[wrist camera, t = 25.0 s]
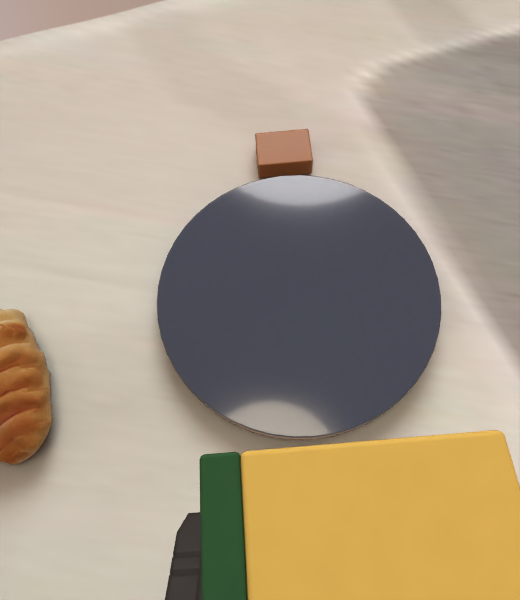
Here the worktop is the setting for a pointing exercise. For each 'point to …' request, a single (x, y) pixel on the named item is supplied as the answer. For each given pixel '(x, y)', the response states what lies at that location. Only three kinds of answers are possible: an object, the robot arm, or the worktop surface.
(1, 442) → the pastry
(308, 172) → the orange slab
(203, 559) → the sponge
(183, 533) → the robot arm
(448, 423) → the worktop surface
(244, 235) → the plate
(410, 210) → the worktop surface
